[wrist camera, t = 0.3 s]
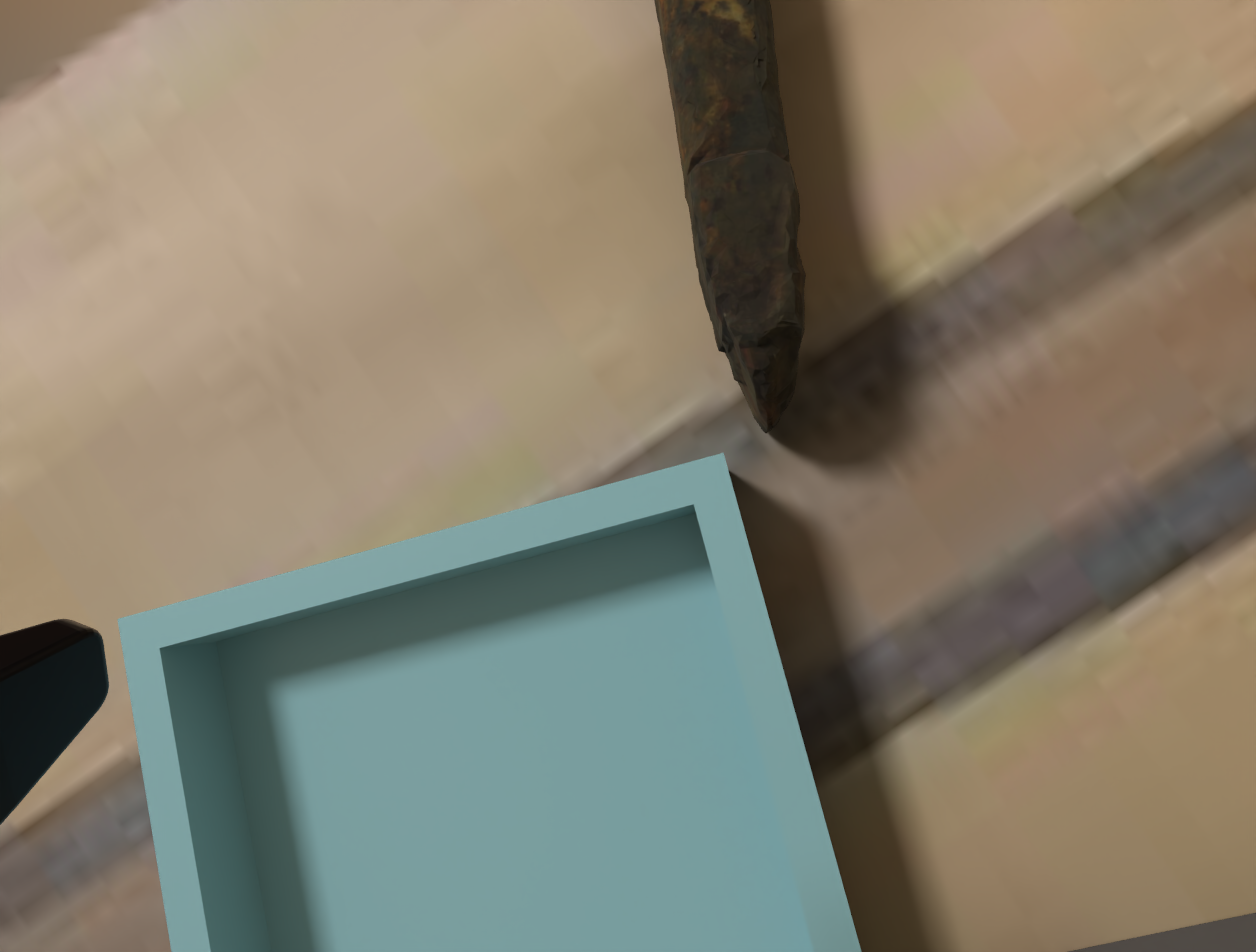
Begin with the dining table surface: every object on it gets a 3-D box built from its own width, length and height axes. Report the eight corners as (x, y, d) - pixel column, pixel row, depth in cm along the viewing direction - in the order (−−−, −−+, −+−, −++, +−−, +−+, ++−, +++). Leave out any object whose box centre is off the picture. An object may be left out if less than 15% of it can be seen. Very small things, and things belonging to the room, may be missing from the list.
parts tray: (899, 1095, 21) (923, 1177, 18) (295, 1212, 23) (229, 1305, 20) (726, 469, 24) (723, 452, 21) (190, 614, 25) (117, 619, 22)
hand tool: (618, -164, 27) (590, -316, 22) (749, -189, 26) (749, -350, 22) (667, 445, 24) (647, 414, 20) (812, 431, 24) (827, 396, 19)
